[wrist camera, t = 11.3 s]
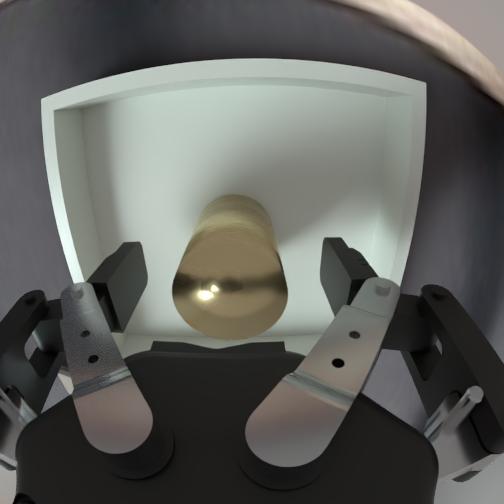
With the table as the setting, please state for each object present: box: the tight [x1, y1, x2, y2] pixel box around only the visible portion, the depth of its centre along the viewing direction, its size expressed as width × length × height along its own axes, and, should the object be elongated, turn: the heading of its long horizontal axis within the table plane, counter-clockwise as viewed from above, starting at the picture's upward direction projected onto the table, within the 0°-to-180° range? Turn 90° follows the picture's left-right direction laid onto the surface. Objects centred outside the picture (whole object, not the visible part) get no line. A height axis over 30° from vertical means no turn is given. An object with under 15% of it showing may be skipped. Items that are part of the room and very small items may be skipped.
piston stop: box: [172, 194, 288, 340], centre depth 12 cm, size 4×4×6 cm
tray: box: [41, 59, 426, 359], centre depth 14 cm, size 18×17×4 cm
